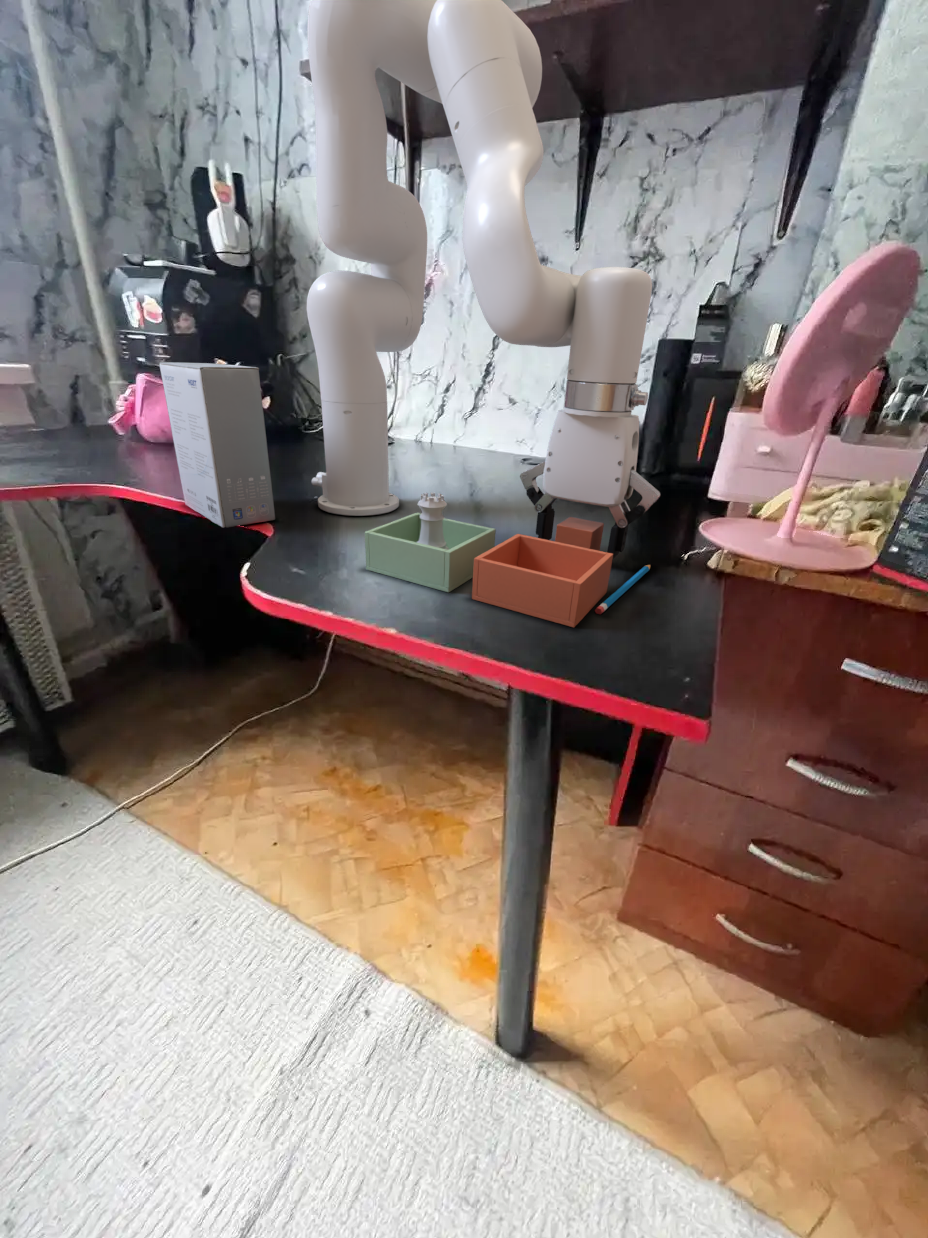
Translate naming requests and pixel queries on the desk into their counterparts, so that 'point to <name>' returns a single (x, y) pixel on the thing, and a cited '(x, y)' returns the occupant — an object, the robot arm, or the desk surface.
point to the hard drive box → (220, 440)
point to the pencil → (621, 590)
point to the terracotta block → (580, 533)
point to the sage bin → (427, 552)
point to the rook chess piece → (432, 520)
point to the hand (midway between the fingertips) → (577, 548)
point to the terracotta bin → (542, 578)
